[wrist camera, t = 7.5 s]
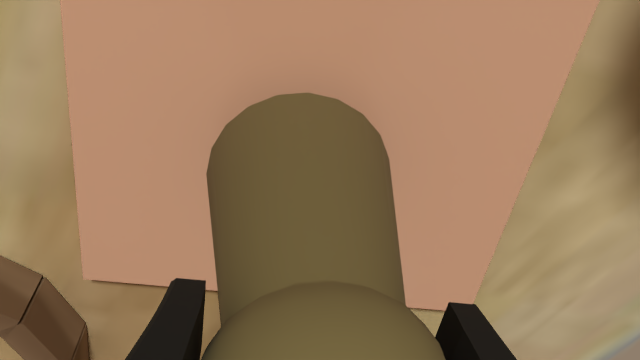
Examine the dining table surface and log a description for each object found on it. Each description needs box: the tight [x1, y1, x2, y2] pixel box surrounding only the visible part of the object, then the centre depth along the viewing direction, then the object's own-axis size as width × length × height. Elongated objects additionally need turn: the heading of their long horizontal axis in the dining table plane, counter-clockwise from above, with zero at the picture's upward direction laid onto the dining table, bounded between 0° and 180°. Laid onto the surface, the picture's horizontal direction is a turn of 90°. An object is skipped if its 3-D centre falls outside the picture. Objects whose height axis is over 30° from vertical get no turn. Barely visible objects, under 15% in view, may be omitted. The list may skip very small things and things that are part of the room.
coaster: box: [60, 0, 600, 311], centre depth 21 cm, size 16×16×1 cm
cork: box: [201, 93, 446, 360], centre depth 15 cm, size 6×6×11 cm
